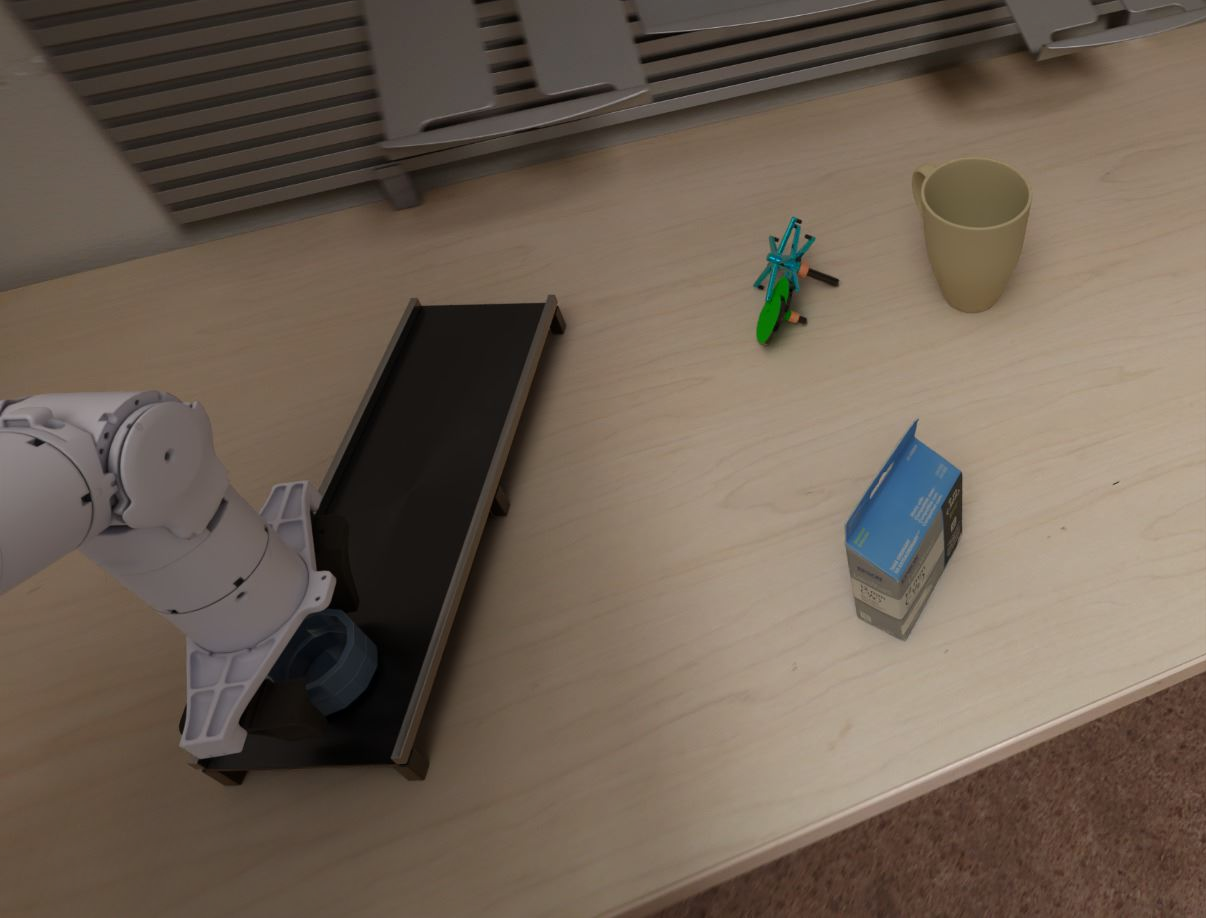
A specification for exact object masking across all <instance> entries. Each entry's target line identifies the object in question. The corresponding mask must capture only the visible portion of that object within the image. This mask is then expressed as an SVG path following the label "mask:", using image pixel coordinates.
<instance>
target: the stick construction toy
mask: <svg viewBox="0 0 1206 918" xmlns="http://www.w3.org/2000/svg"><path fill="white" fill-rule="evenodd" d="M802 224H803V220H802V219H800V218H798V217H795V216H792V217H791V219H790V221H789V222H788V225H787V227H786V229H785V231H784V234H783V236H782V238H781V240H780V238H779V237H776V236H774V235H772V234H770V235H769V236H768V244H769V248H770V252H769V253H767V255H766V258H765V260H766V262H768V263H767V264H766V267H765V268H764V269H763V270H762V272H761V273H760V274H759V276H758V277H757V279H756V280H755V281H754V283H753V284H752V287H754V288H755V289H757V290H758V289H759V290H764V289H765V286H764V285H763V284H762V283H763V282H764V281H765V279H767V277H768V276H769V277H768V283H767V289H766V294H765V302H764V305H763V307H762V309H761V311H760V312H759V313H760V314H759V315H758V318H757V323H756V331H755V333H756V335H755V336H756V340H757V342H758V343H759V344H761V345H764V346H768V345H769V344H770V343H771V342H772V340H773V339H774V338H775V336H776V334H777V332H778V329H779V328H780V325H781V322H782V320H784V321H787V322H790V323H793V324H796V323H799V324H801V325H806V324H807V322H808V317H806V316H803V315H800V313H799V312H796V311H794V310H792V309H790V307H791V303H792V299H793V294H794V292H797V293H799V292H800V289H801V287H800V283H799V278H801V279H804V278H805V277H808V278H811V279H813V280H816V281H819V282H822V283H824V284H827V285H830V286H832V287H837V286H838V285H839V283H840V279H839V278H837V277H835V276H832V275H829V274H828V273H824V272H822V271H819V270H816V269H814V268H811V267H810V264H809V263H808V262H805V261H803V260H802V258H803V257H804V256H805V254H806V253H807V252H808V250H809V249H810V248H811V247H812V245H813V244H814V242H815V241H816V239H817V238H816V236H813V235H810V234H808V233H805V234H804V239H805V240H807V241H806V242H805V243H804V244H803V245H802V246H801V248H800V249H799V250H798V247H799V242H800V235H801V230H802V226H801V225H802ZM793 229H794V233H793V238H792V242H791V248H790V252H789V254H783V253H784V251H785V248H786V246H787V243H788V241H789V239H790V237H791V234H792V232H793ZM777 243H779V244H778V246H777ZM778 271H784V273H783V274H782V277H780V278H779V279H778V281H777V282H776V278H777V273H778ZM775 283H776V284H775Z"/></svg>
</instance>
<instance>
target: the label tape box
mask: <svg viewBox="0 0 1206 918" xmlns="http://www.w3.org/2000/svg"><path fill="white" fill-rule="evenodd" d="M919 421H920V418H916V419H914V420H913V421H912V422H911V424H910V425H909V426H908V428H907V429H906V430H905V431H904V433H903V435H902V436H901V437H900V439H899V440H898V442H897V443H896V444H895V446H894V448H893V449H892V451H890V453H889V455H888V457H886V460H885V461H884V462H883V464H882V465H881V467H880V468H879V470H878V471H877V472H876V474H875V476H874V477H873V479H872V480H871V482H870V483H869V485H868V486H867V488H866V489H865V491H864V492H863V494H862V495H861V497H860V498H859V500H858V501H857V503H856V505H855V506H854V508H853V510H851V512H850V514H849V515H848V517H847V519H845V522H844V548H845V552H846V553H845V554H846V561H847V566H848V571H849V577H850V584H851V589H852V594H853V599H854V605H855V611H856V617H857V618H858V619H860V620H862V621H864V622H866V623H867V624H870V626H874V627H875V628H878V629H880V630H881V631H884V632H885V633H887V634H889V635H892V636H893V637H895V638H897V639H899V640H900V641H904V642H905V641H906V640H907V638H908V637H909V634H910V633H911V631H912V630H913V628H914V626H915V624H916V622H917V620H918V618H919V617H920V615H921V613H922V612H923V609H924V607H925V606H926V605H927V602H928V600H929V598H930V596H931V594H932V592H933V591H934V588H935V587H936V585H937V583H938V581H939V579H940V578H941V575H942V573H943V571H944V570H945V568H946V566H947V565H948V562H949V561H950V559H951V557H952V555H953V553H954V551H956V549H957V546H958V545H959V542H960V540H961V539H962V536H963V478H964V477H963V471H962V470H961V469H959V468H958V467H956V466H955V465H954V464H952V463H951V462H950V461H948V460H947V459H946V458H944V457H943V456H942V455H940V454H939V453H938V452H936V451H935V450H934V449H932V448H931V447H929V446H928V445H927V444H925V443H923V442H922V441H921V440H920V439H918V438H917V437H916V436H915V435H916V432H917V428H918V422H919ZM884 474H885V475H884ZM883 475H884V476H883ZM882 477H883V478H882ZM881 478H882V479H881ZM880 480H881V481H880ZM874 490H875V491H874ZM873 491H874V492H873Z"/></svg>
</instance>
